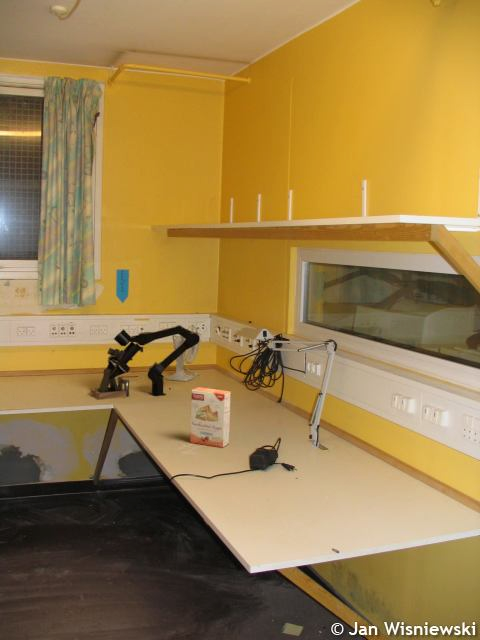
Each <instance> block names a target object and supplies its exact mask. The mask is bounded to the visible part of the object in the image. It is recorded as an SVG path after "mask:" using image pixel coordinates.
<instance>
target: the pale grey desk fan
mask: <svg viewBox="0 0 480 640" xmlns="http://www.w3.org/2000/svg"><path fill="white" fill-rule="evenodd" d="M192 327H193V328H194V329H195V332H197V333H198V334H199V337H200V338H201V332H199V331H198V329H197V327H196V326H195V325H190V326H189V327H188V328H186V329H187V330H189V331H191V332H193V330H192V329H191V328H192ZM184 340H185V338H184V337H182V336H181V335H172V343H173V350H175V349H176V348H177V347H179V346H180V345H181V344H182V343H183V341H184ZM201 343H202V339H200V340H199V343H198V344H196V345H195V346H193V347H191V348H189V349H187V350H186V351H185V352H184V353H182V354H181V355H180V356H179V357H178V358H177V359H176V360H175V362H176V367H175V369H176V371H175V373H173V374H171V375H169V376H167V377H166V380H169V381H178V382H188V381H191V380H193V379H195V377H194V376H200V375H201V373H199V372H196V371H192V370H191V369H189V368H188V367H186V366H185V365H184V363H185V364H187V365H192V364H193V363H194V362H195V360H196V358H197V356H198V354H199V352H200V351H199V350H200V347H201V346H200V345H201ZM184 368H185V369H186V370H187V371H188V372H190V374H187V373H185V370H184Z"/></svg>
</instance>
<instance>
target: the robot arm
mask: <svg viewBox="0 0 480 640" xmlns="http://www.w3.org/2000/svg"><path fill="white" fill-rule="evenodd" d="M187 329H188V328H185V327H183V326H182V325H180V324H178V325H176V326H171V327H168V328H165V329H159V330H156V331H144V332H143V331H142V332H139V333H138V334H137V335H130V334H129V333H128V332H127V331H126V330H125V329H124V328H123V329H122V330H121V331H120V332H118V334H117V335H115V337H113V340H114V341H115V342H116V343H117V344H118V345H120V347H125V348H124V349H121V350H120V349H118V348H112V347H109V349H108V351H107V355H109V356H108V357H107V366H106V368H105V369H110V370H113V372H112V374H111V375H110V377H109V378H110V379H112V378H114V377H115V378H116V377H117V378H118V377H120V376H121V375H123V374H127V373H129V372H130V370H131V367H130V366H129V365H128V363H130V361H133V358H134V357H135V356H136V355H137V354H138V352H140V353H144V346H146V345H148V344H150V343H152V342H154V341H157V340H159V339H165V338H168V337H171V336H172V337H173V335H175V336H177V335H178V336H182V337H184V338H185V340H184V341H183V343H182V344H181V345H180V346H179V347H177V348H176V349H173V351H172V352H170V354H169V355H167V356H165V358H163V360H161V361H160V362H157V361H155V362H154V363H153V364H152V365H150V366H149V368H148V371H147V377H148V379H149V380H150V381H151V392H148V394H150V395H152V396H154V397H157V396H159V397H160V396H166V395H167V393H165V392H164V379H165V376H164V375H163V373H164V371H165V370H166V369H167V368H168V367H169V366H170V365H171V364H172V363H174V362H175V361H176V359H177V358H178V357H179V356H180V355H181V354H182V353H184V352H185V351H186V352H187V351H188V349H189V348H191V347H193V346H195V345H196V344H198V343H199V340H201V339H200V338H201V336H200V334H199V332H198V333H197V332H196V331H192V332H191V331H190V329H189V330H187ZM199 336H200V337H199ZM103 376H104V373H103Z"/></svg>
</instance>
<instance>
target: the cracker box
mask: <svg viewBox="0 0 480 640" xmlns="http://www.w3.org/2000/svg"><path fill="white" fill-rule="evenodd" d="M231 393H232V392H231V391H229V390H221V389H215V388H214V389H213V388H208V387H198V386H197V387H195V388H193V389H191V399H190V400H191V404H190V407H191V408H190V410H191V411H190V443H193V444H199V445H204V446H209V447H210V446H211V447H217V448H222V449H224V448H225V447H227V446H228V445H229V444H230V428H231V427H230V426H231V424H230V422H231V420H230V419H231Z"/></svg>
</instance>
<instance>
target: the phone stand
mask: <svg viewBox="0 0 480 640" xmlns="http://www.w3.org/2000/svg"><path fill="white" fill-rule="evenodd" d="M112 372H113V370H110V369H106V368H104V369H103V374H104V375H103V376H102V379H101V381H100V385H99V390H98V392H100V393H104V392H107V390H108V387H110V388H111V391H110V392H114V391H119V389H118V382H117V379H116V377H114V378H112V379H110V378H109V377H110V375H111V374H112Z"/></svg>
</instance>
